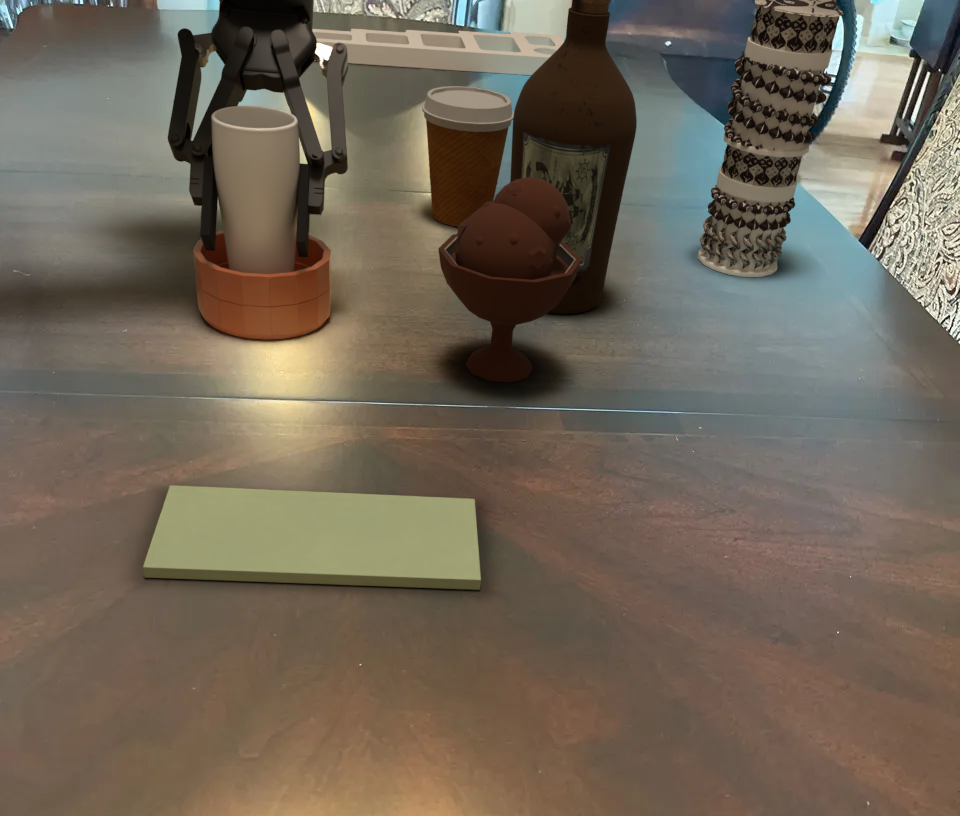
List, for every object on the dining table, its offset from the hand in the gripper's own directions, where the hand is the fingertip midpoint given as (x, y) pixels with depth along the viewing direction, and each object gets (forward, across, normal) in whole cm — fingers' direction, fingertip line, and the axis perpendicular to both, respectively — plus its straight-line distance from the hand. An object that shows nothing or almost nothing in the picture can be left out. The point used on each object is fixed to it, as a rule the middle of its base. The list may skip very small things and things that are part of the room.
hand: (255, 245), depth 84 cm
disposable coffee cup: (-17, +18, +27) cm, 37 cm away
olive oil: (-3, +26, +13) cm, 29 cm away
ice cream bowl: (+8, +20, +2) cm, 22 cm away
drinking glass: (+2, 0, +7) cm, 7 cm away
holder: (-72, +16, +82) cm, 110 cm away
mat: (+27, +7, -16) cm, 32 cm away
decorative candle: (-12, +47, +22) cm, 53 cm away
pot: (+3, 0, +8) cm, 8 cm away
